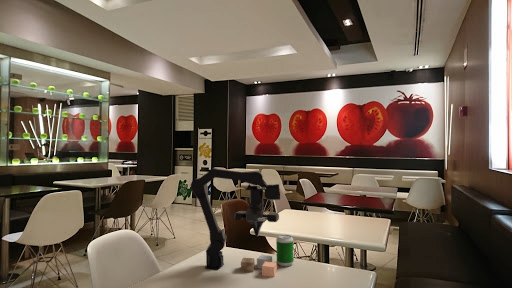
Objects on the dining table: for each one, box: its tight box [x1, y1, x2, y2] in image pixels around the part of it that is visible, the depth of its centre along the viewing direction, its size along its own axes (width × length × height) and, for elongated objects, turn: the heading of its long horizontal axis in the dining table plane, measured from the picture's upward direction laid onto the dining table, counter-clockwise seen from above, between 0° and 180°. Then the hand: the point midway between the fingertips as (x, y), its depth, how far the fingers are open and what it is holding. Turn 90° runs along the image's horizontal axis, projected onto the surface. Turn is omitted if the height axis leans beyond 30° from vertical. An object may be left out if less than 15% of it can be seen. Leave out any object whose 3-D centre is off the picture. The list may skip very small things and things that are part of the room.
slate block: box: [256, 254, 273, 269], centre depth 132 cm, size 5×5×4 cm
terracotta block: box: [261, 261, 278, 278], centre depth 124 cm, size 5×5×4 cm
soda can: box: [276, 234, 295, 267], centre depth 134 cm, size 8×8×12 cm
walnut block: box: [240, 257, 255, 273], centre depth 129 cm, size 5×5×4 cm
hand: (256, 236), depth 132 cm, fingers closed
